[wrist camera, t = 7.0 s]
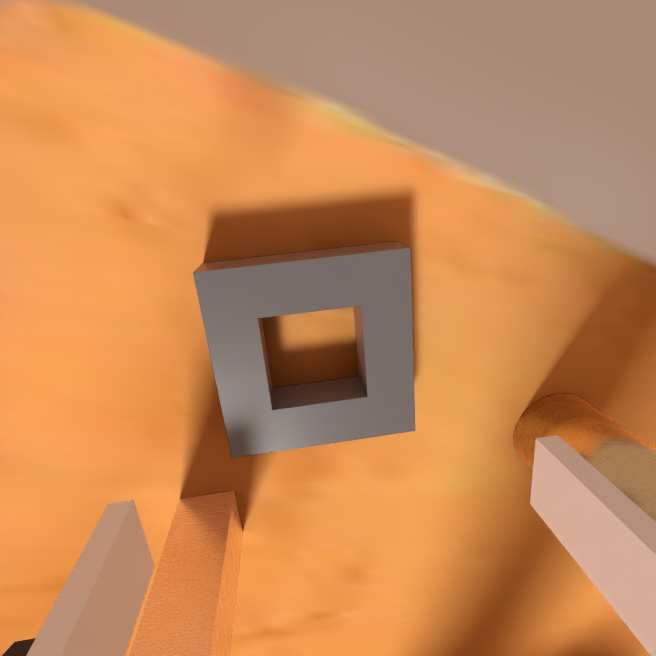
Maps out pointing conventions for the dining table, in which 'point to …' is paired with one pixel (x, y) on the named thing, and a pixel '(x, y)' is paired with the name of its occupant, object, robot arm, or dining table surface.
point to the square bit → (195, 582)
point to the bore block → (299, 297)
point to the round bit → (592, 444)
